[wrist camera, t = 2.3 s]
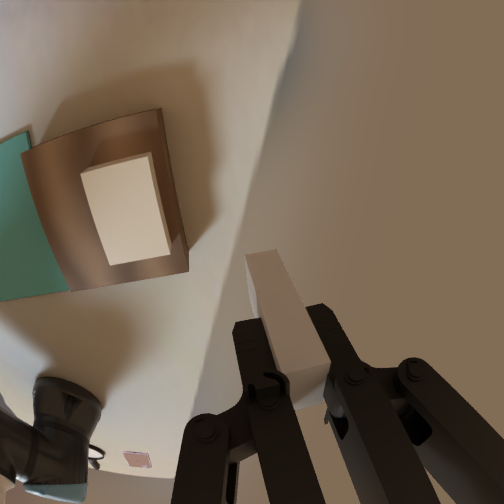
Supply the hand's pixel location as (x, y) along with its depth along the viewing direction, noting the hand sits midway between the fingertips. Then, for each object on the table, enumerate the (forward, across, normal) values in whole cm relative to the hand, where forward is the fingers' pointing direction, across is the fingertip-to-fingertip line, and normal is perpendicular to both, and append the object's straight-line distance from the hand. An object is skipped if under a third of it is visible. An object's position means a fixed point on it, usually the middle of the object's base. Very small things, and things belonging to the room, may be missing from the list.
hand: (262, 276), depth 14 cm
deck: (+18, -12, 0) cm, 21 cm away
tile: (+14, -9, 0) cm, 16 cm away
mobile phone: (+18, -38, -74) cm, 85 cm away
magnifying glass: (+18, -55, -72) cm, 92 cm away
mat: (+17, -29, 0) cm, 34 cm away
